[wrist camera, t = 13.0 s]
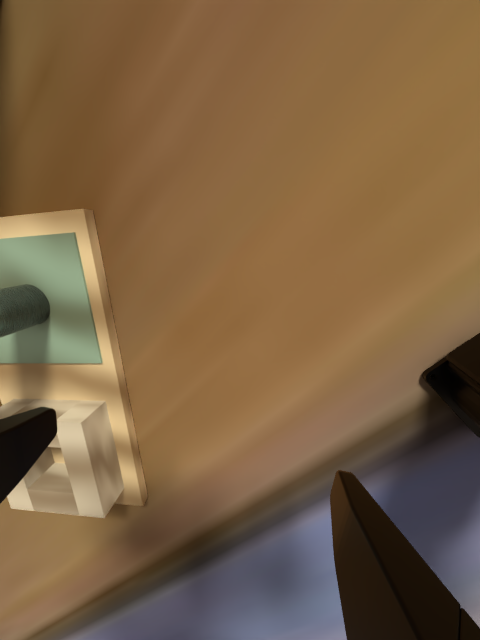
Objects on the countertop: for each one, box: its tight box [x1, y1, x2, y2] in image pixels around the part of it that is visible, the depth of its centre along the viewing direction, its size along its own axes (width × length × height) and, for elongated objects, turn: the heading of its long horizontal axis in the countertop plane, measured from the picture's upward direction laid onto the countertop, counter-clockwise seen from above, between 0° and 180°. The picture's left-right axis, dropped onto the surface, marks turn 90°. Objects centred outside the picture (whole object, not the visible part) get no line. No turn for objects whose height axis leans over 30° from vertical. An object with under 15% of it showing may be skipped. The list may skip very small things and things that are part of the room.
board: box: [0, 209, 148, 518], centre depth 23 cm, size 26×12×4 cm, turn 4°
